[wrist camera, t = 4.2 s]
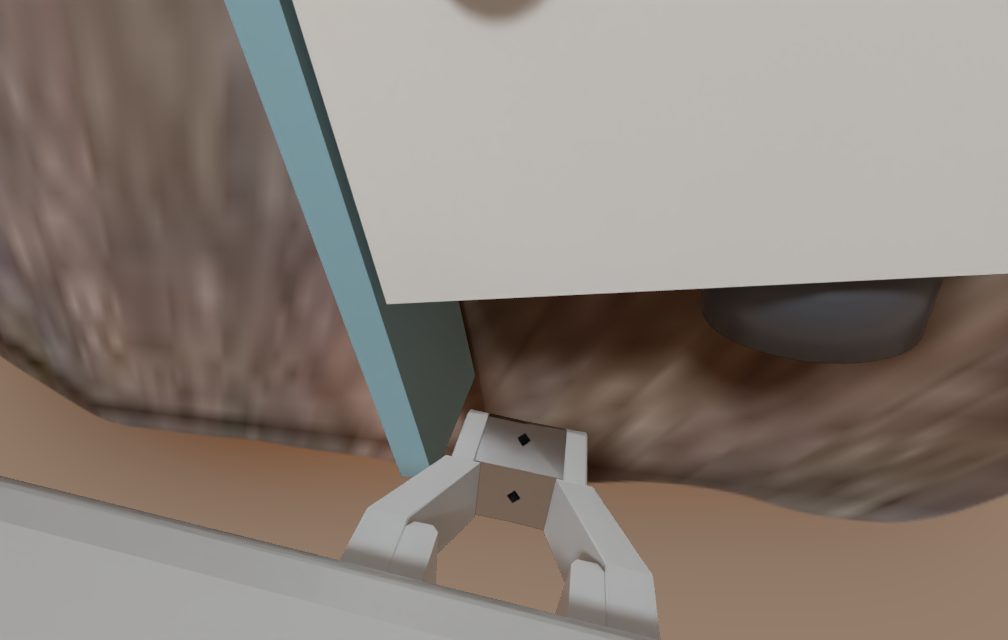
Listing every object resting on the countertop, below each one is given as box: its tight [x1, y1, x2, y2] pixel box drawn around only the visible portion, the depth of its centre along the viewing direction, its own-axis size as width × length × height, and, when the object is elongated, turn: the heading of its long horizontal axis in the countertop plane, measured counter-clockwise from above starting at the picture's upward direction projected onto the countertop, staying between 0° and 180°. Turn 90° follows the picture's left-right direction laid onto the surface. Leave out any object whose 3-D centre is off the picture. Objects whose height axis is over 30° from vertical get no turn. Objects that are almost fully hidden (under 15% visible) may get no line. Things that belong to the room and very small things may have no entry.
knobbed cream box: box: [292, 0, 1008, 364], centre depth 9 cm, size 16×16×7 cm
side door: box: [224, 0, 475, 477], centre depth 13 cm, size 2×21×7 cm, turn 9°
